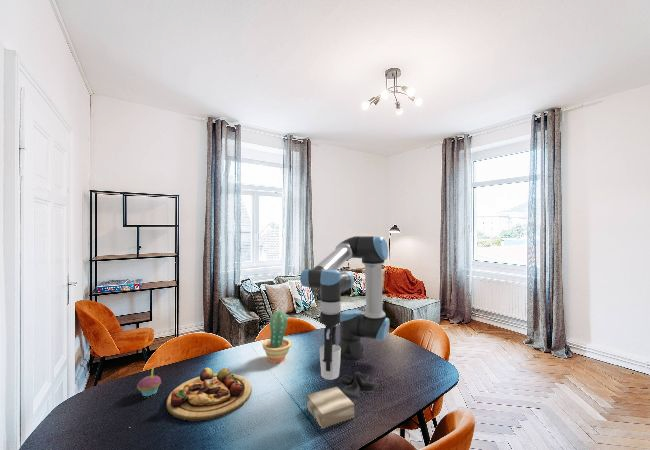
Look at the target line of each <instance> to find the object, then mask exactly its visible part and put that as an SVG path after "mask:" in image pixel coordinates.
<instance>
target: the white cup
mask: <svg viewBox="0 0 650 450" xmlns="http://www.w3.org/2000/svg"><path fill="white" fill-rule="evenodd" d="M340 355H341V348H340V346H338V344H336V345H333V346H332V380H336V379H338V378H340V377H339V376H340V370H341V357H340ZM323 360H324V344H323V345H320V346H319V362H320V375H321V377H322V378H324V379H325V362H324V361H323Z"/></svg>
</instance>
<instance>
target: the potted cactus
mask: <svg viewBox="0 0 650 450" xmlns="http://www.w3.org/2000/svg"><path fill="white" fill-rule="evenodd" d="M288 318H289V316H288V314H287V313H286V312H285V311H283V310H281V309H280V310H278V309H276V310H275V311H274V312H273V313H272V315H270V318H269V329H270V338H269V339H267V340H264V342H263V343H262V349H263V351H265V354H266V356H267V358H268V359H269V360H268V362H270V363H274V364H277V363H282V362H284V361H285V360H286V356H287V355H288V353H289V350H290V348H291V347H292V341H291V340H290V339H288V338H284V337H285V332H286V329H287V327H288Z"/></svg>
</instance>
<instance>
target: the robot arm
mask: <svg viewBox="0 0 650 450" xmlns="http://www.w3.org/2000/svg"><path fill="white" fill-rule="evenodd" d="M388 247H389V246H388V243H387V241H386V239H385V238H384V237H382V236H375V235H374V236H370V235H368V236H367V235H365V236H361V235H360V236H359V235H355V236H352V237H348V238H346V239H344V240H343V241H341V242H339V244H337V245H336V247H335V249H334V250H333V251H332V252H331V253H329V255H327V256H326V257H325V258H324V259H323V260H321V261H320V262H318V264H317V265H316V266H314V267H313V268H312V269H310V268H308V269H303V270H302V271H301V273H300V278H299V279H300V284H301V285H302V287H305V288H309V289H310V288H311V289H320V302H318V305H320V314H319V315H320V317H319V319H320V323H321V324H323V325H325V327H324V332H323V335H324V336H323V337H324V340H323V343H324V344H323V345H324V360H323V361H324V362H325V378H324V380H327V381H328V380H329V381H330V380H331V381H333V379H332V346H333V345H338V346H340V348H341V355H340V359H341V358H342V359H345V360H358V359H362V358H363V357H364V356H365V347H364V344H363V342H362V338H365V339H369V340H373V341H382V342H383V341H385V340H386V339H387V337H388V333H389V329H390V323H391V322H390V318H388V317H387V315H386V312H385V310H383V309H384V308H383V278H382V277H383V274H382V266H383V264H384V263H385V260H387V259H388V256H389V248H388ZM350 259H361V263H362V264H363V265H364V277H365V278H364V279H365V281H364V284H365V286H364V287H365V311H363V313H362V311H361V310H360V309H348V310H345V311H342V312H341V308H342V307H341V304H342V302H341V301H342V300H341V293H342V292H345V291H348V290H349V289H350V288H352V287H353V285H354V283H355V278H354V275H353V274H352V273H351V272H350V271H347V270H342V271H340V270H339V268H340V266H342V265H343V264H344V263H345V262H346V261H349V260H350ZM336 325H339V341H338V343H337V340H336V339H337V337H336V335H337V331H336V330H337V326H336Z"/></svg>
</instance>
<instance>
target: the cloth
mask: <svg viewBox="0 0 650 450" xmlns="http://www.w3.org/2000/svg"><path fill="white" fill-rule="evenodd" d="M370 379H371V376H370V375H369V374H367V373H361V372H360V371H355V372H354V373H353V375H350V374H343V375H342V376H341V377H338V380H337V383H338V384H339V383H342V384H345V385H346V384H347V385H346V386H344V387H342V389H341V391H342V392H343V393H344V394H345V395H346V396H347V397H351V398H354V397H355V398H354V399H360V397H361V398H362V396H361V395H360V393H361V390H363V391H364V394H366V395H369V394H370V395H371V394H374V393H375V389H377V388H378V387H379V386H380V384H379V383H378V382H374V381H369V380H370Z"/></svg>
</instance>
